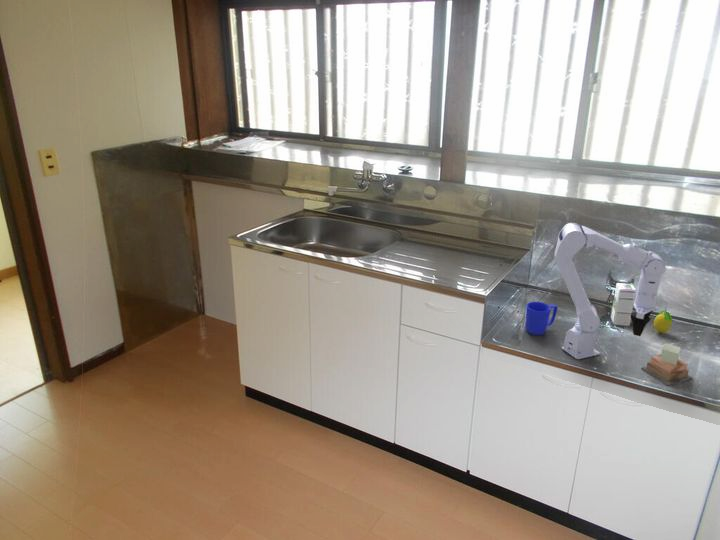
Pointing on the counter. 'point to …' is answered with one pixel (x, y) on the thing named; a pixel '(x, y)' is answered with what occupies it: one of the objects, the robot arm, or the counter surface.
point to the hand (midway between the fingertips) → (638, 330)
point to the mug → (538, 317)
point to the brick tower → (667, 370)
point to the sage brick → (670, 354)
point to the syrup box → (623, 304)
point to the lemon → (663, 322)
